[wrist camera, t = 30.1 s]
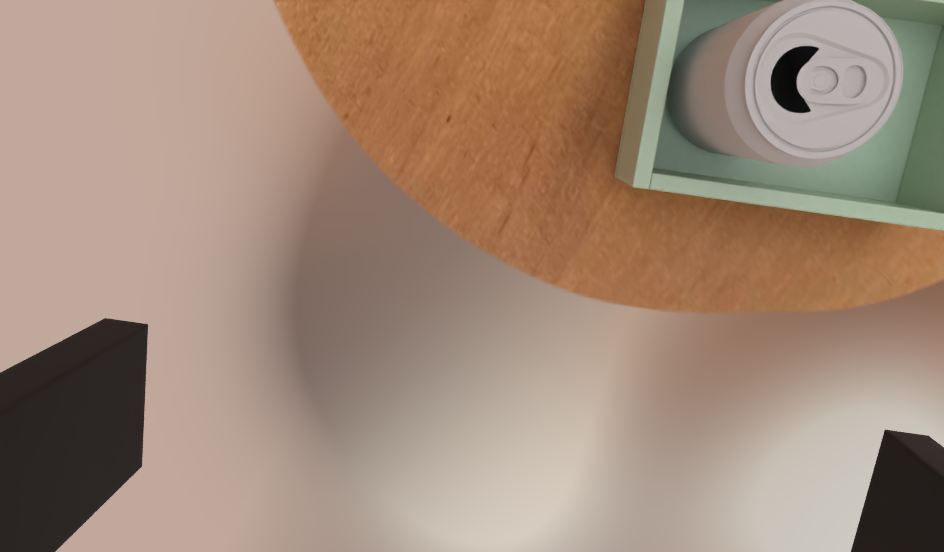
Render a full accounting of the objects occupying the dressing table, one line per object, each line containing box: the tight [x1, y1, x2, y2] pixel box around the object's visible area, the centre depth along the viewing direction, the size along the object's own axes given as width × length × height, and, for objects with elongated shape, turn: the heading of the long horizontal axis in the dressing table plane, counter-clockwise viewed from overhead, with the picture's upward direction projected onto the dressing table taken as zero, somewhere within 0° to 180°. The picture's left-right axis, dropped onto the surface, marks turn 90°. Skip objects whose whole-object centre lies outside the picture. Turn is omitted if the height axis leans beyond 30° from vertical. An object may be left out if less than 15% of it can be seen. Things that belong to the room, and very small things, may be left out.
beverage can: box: [667, 0, 903, 167], centre depth 33 cm, size 6×6×12 cm
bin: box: [614, 0, 944, 231], centre depth 36 cm, size 16×11×6 cm
